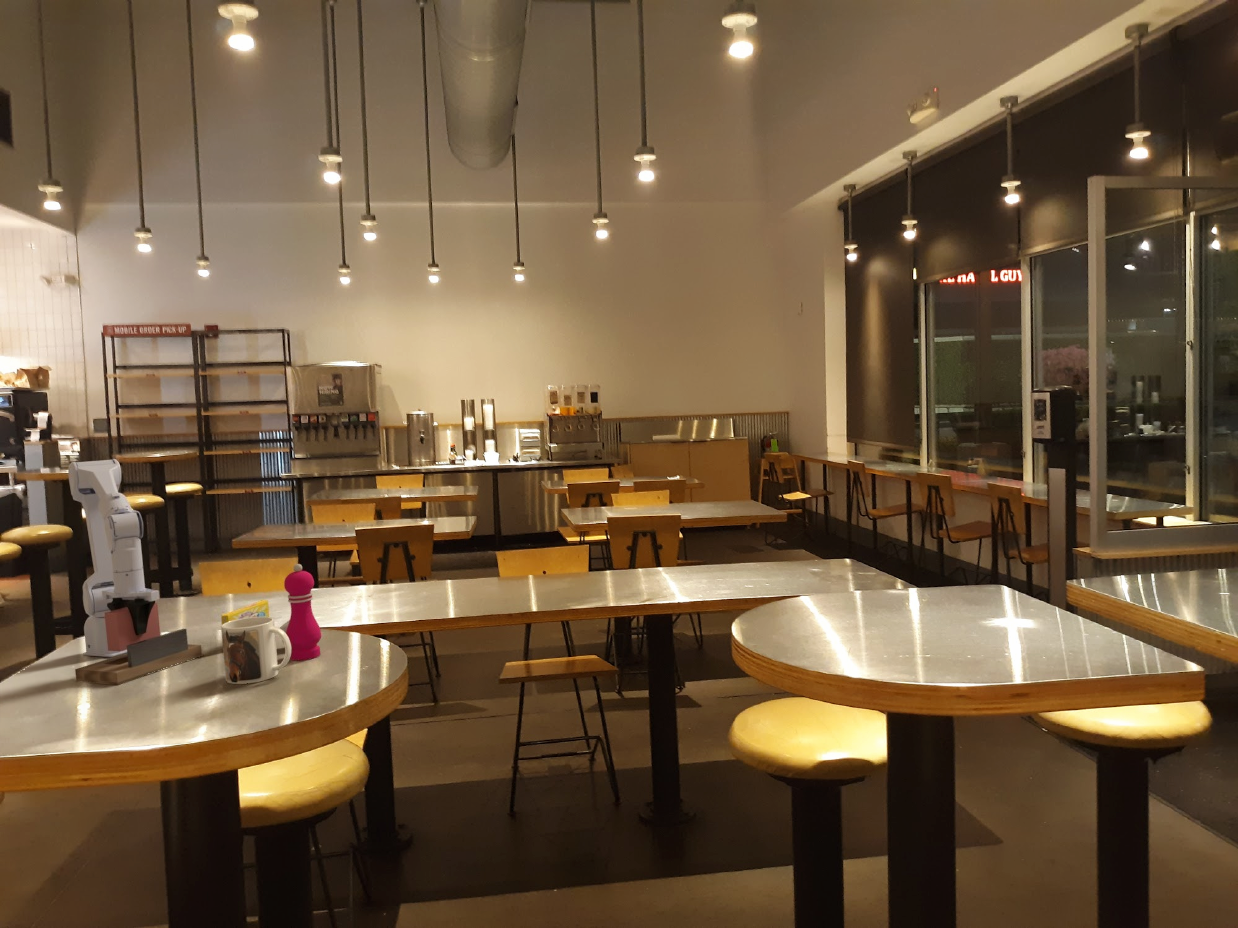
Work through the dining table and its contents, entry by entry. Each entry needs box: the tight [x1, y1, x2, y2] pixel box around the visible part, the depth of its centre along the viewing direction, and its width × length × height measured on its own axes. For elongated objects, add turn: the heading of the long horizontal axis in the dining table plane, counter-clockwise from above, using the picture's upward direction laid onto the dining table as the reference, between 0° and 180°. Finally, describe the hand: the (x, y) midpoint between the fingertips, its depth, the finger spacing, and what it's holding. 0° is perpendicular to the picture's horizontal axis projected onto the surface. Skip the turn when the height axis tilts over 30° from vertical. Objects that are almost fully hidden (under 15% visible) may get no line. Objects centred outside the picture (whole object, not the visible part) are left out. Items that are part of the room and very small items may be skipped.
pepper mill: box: [283, 563, 322, 661], centre depth 200 cm, size 7×7×20 cm
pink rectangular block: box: [104, 602, 161, 652], centre depth 199 cm, size 4×10×8 cm, turn 157°
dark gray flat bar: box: [126, 628, 189, 668], centre depth 197 cm, size 1×14×4 cm, turn 157°
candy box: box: [221, 600, 270, 626], centre depth 217 cm, size 16×2×8 cm, turn 168°
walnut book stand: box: [74, 643, 203, 686], centre depth 199 cm, size 12×21×2 cm, turn 157°
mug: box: [220, 616, 292, 685], centre depth 186 cm, size 10×12×11 cm
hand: (134, 633), depth 199 cm, fingers closed on pink rectangular block, 3 cm apart
